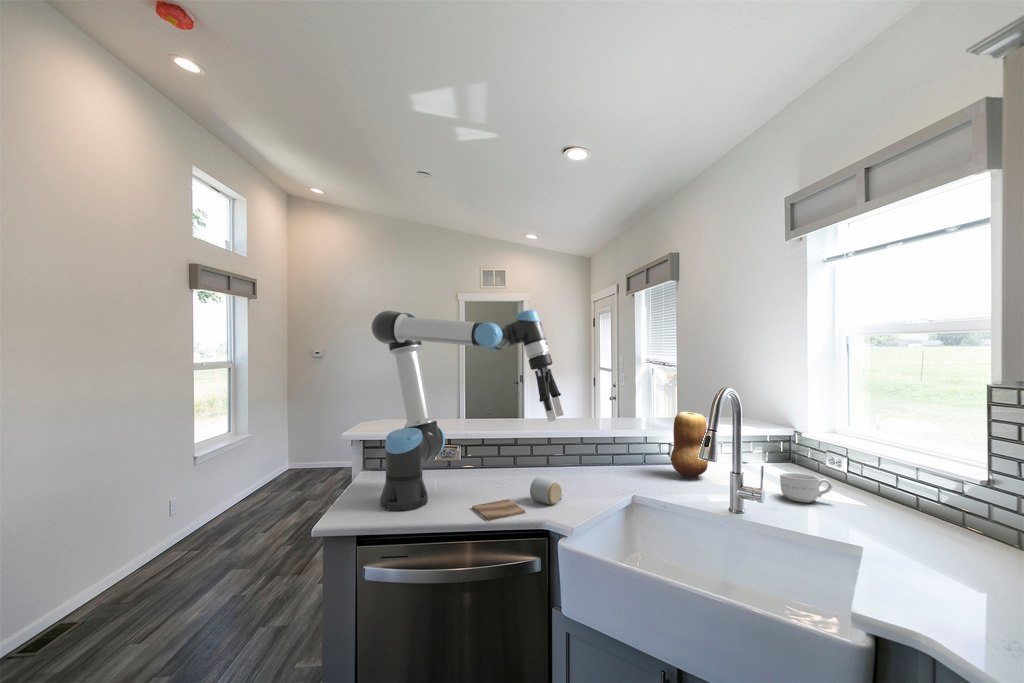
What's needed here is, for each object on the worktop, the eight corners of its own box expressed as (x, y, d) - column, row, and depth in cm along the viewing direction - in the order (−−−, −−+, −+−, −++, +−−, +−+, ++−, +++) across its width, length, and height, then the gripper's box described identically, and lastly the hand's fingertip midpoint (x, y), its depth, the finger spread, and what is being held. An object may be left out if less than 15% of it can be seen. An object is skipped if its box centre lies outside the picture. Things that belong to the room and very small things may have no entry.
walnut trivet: (472, 508, 135) (472, 505, 135) (508, 501, 141) (508, 499, 141) (487, 520, 125) (487, 517, 125) (525, 513, 130) (525, 510, 130)
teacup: (776, 500, 140) (776, 475, 140) (784, 492, 148) (783, 468, 148) (829, 510, 130) (828, 483, 131) (834, 501, 138) (833, 476, 139)
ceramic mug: (549, 508, 134) (549, 483, 135) (529, 502, 140) (529, 478, 140) (568, 500, 142) (568, 476, 143) (548, 495, 148) (548, 472, 148)
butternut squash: (708, 483, 158) (706, 415, 159) (669, 479, 164) (668, 413, 165) (708, 474, 171) (707, 410, 172) (672, 470, 176) (671, 409, 177)
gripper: (541, 351, 130) (561, 420, 127) (556, 353, 154) (573, 411, 151) (518, 358, 132) (537, 426, 129) (536, 359, 156) (553, 416, 153)
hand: (556, 418), depth 140 cm, fingers open, 13 cm apart
